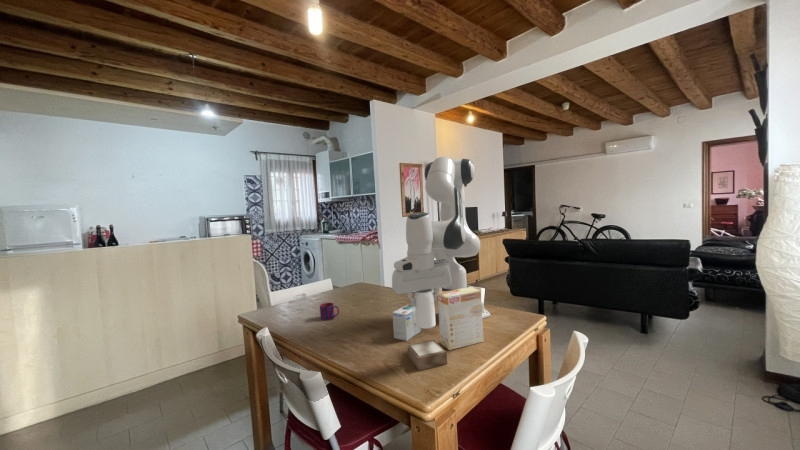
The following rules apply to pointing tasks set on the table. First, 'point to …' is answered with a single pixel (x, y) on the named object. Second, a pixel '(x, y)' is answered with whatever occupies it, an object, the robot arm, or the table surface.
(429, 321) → the can
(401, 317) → the light bulb box
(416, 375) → the table surface
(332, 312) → the mug
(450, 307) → the coffeecake box
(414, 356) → the base block
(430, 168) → the robot arm
